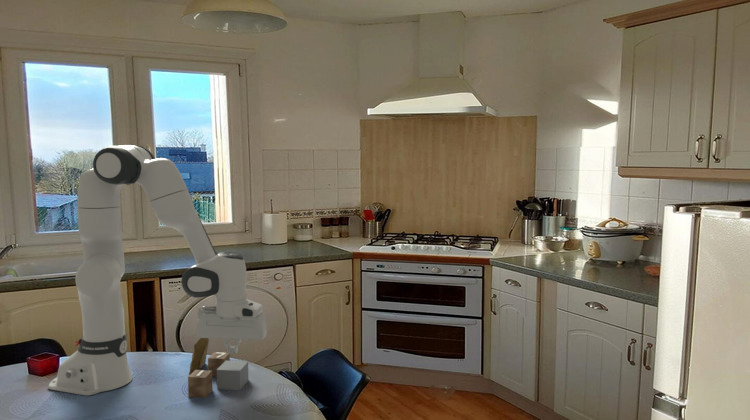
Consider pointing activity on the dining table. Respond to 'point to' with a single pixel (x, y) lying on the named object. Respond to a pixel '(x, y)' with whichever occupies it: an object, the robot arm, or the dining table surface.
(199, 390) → the walnut block one
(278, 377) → the dining table surface
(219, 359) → the walnut block seven
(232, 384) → the grey block
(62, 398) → the dining table surface
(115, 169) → the robot arm
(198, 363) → the rock
